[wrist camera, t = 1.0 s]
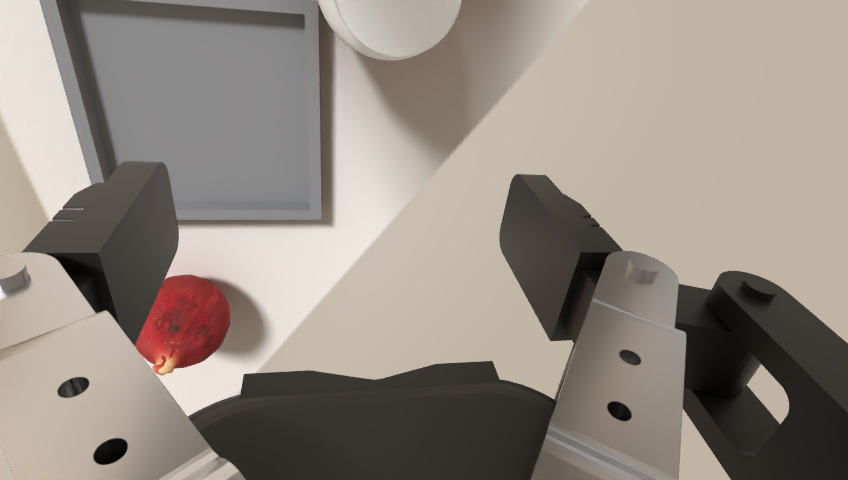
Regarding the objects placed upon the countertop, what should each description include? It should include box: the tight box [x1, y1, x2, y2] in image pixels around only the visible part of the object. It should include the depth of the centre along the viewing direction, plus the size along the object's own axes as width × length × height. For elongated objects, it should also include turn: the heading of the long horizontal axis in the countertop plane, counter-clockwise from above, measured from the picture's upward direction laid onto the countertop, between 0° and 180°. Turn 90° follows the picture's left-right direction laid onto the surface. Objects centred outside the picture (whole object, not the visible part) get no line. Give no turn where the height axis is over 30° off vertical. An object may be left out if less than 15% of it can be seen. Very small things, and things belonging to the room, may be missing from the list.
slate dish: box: [39, 0, 322, 220], centre depth 28 cm, size 13×13×2 cm
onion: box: [135, 275, 230, 375], centre depth 32 cm, size 6×6×8 cm
